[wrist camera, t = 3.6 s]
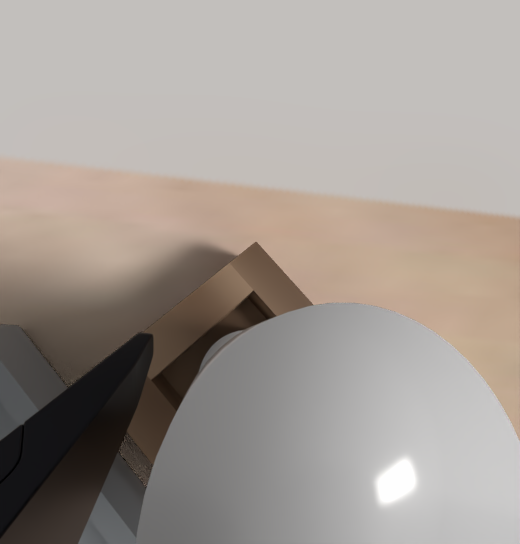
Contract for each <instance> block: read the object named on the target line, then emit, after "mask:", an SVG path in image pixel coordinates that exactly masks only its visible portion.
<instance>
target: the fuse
mask: <svg viewBox="0 0 520 544" xmlns="http://www.w3.org/2000/svg"><path fill="white" fill-rule="evenodd" d="M136 544H520V441H519V439H518V437H517V435H516V432H515V430H514V428H513V426H512V423H511V422H510V420H509V418H508V416H507V414H506V413H505V411H504V409H503V407H502V405H501V404H500V402H499V400H498V399H497V397H496V396H495V394H494V393H493V392H492V390H491V389H490V387H489V386H488V384H487V383H486V381H485V380H484V379H483V378H482V376H481V375H480V374H479V373H478V372H477V371H476V369H475V368H474V367H473V366H472V365H471V363H470V362H469V361H468V360H467V359H466V358H465V357H464V356H463V355H462V354H460V353H459V352H458V351H457V350H456V349H455V348H454V347H453V346H452V345H451V344H450V343H448V342H447V341H446V340H444V339H443V338H442V337H440V336H439V335H438V334H436V333H435V332H434V331H432V330H430V329H429V328H427V327H425V326H424V325H422V324H420V323H419V322H417V321H415V320H413V319H411V318H408V317H406V316H404V315H401V314H399V313H397V312H394V311H391V310H387V309H384V308H380V307H377V306H372V305H365V304H358V303H327V304H320V305H312V306H308V307H304V308H301V309H297V310H294V311H290V312H287V313H284V314H282V315H279V316H276V317H274V318H271V319H268V320H265V321H263V322H260V323H258V324H256V325H254V326H251V327H249V328H247V329H245V330H242V331H236V332H233V333H230V334H228V335H225V336H224V337H222V338H220V339H219V340H218V341H216V342H215V343H214V344H213V345H212V346H211V347H210V349H209V350H208V351H207V353H206V355H205V357H204V359H203V361H202V363H201V366H200V369H199V373H198V374H197V375H196V377H195V379H194V380H193V382H192V384H191V386H190V387H189V389H188V391H187V392H186V394H185V396H184V398H183V400H182V402H181V404H180V406H179V408H178V410H177V412H176V414H175V416H174V418H173V420H172V422H171V424H170V426H169V429H168V431H167V433H166V436H165V438H164V440H163V442H162V445H161V447H160V449H159V452H158V454H157V456H156V459H155V462H154V465H153V468H152V471H151V475H150V478H149V481H148V484H147V488H146V491H145V494H144V499H143V504H142V509H141V515H140V520H139V525H138V530H137V538H136Z"/></svg>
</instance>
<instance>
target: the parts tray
mask: <svg viewBox="0 0 520 544" xmlns="http://www.w3.org/2000/svg"><path fill="white" fill-rule="evenodd" d="M66 389H67V386H66V385H65V384H64V383H63V381H62V380H61V379H60V377H59V376H58V375H57V374H56V372H55V371H54V370H53V368H52V367H51V366H50V365H49V363H48V362H47V361H46V360H45V358H44V357H43V356H42V354H41V353H40V352H39V351H38V349H37V348H36V347H35V345H34V344H33V343H32V342H31V340H30V339H29V338H28V337H27V335H26V334H25V333H24V331H23V330H22V329H21V328H20V326H19V325H6V324H0V440H1V439H3V438H4V437H5V436H7V435H8V434H9V433H10V432H12V431H13V430H14V429H16V428H17V427H18V426H19V425H21V424H23V425H24V422H25V421H26V420H27V419H29V418H30V417H31V416H32V415H34V414H35V413H36V412H38V411H39V410H40V409H41V408H43V407H44V406H45V405H47V404H48V403H49V402H50V401H52V400H53V399H54V398H56V397H57V396H58V395H59V394H61V393H62V392H63V391H64V390H66ZM145 491H146V487H145V486H144V485H143V483H142V482H141V481H140V480H139V478H138V477H137V476H136V475H135V473H134V472H133V471H132V469H131V468H130V467H129V466H128V464H127V463H126V462H125V460H124V459H123V458H122V457H121V455H120V454H119V453H117V455H116V457H115V460H114V462H113V464H112V467H111V469H110V471H109V473H108V476H107V478H106V480H105V483H104V485H103V487H102V490H101V492H100V494H99V497H98V499H97V501H96V503H95V506H94V508H93V510H92V513H91V515H90V517H89V520H88V522H87V524H86V526H85V529H84V531H83V533H82V536H81V538H80V540H79V543H78V544H136V538H137V530H138V525H139V520H140V515H141V509H142V504H143V499H144V494H145Z"/></svg>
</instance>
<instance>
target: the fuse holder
mask: <svg viewBox="0 0 520 544" xmlns="http://www.w3.org/2000/svg"><path fill="white" fill-rule="evenodd" d="M312 305H313V304H312V303H311V302H310V301H309V299H308V298H307V297H306V296H305V295H304V294H303V293H302V292H301V291H300V289H299V288H298V287H297V286H296V285H295V284H294V283H293V282H292V281H291V280H290V278H289V277H288V276H287V275H286V274H285V273H284V272H283V271H282V270H281V268H280V267H279V266H278V265H277V264H276V263H275V262H274V261H273V260H272V259H271V257H270V256H269V255H268V254H267V253H266V252H265V251H264V250H263V249H262V248H261V246H260V245H259V244H258V243H257V242H255V243H254V244H252V245H251V246H250V247H249V248H247V249H246V250H245V251H244V252H242V253H241V254H240V255H239V256H237V257H236V258H235V259H234V260H232V261H231V262H230V263H229V264H227V265H226V266H225V267H224V268H222V269H221V270H220V271H219V272H217V273H216V274H215V275H214V276H212V277H211V278H210V279H209V280H207V281H206V282H205V283H204V284H202V285H201V286H200V287H199V288H197V289H196V290H195V291H194V292H192V293H191V294H190V295H189V296H187V297H186V298H185V299H184V300H182V301H181V302H180V303H179V304H177V305H176V306H175V307H174V308H172V309H171V310H170V311H169V312H167V313H166V314H165V315H164V316H162V317H161V318H160V319H159V320H157V321H156V322H155V323H154V324H152V325H151V326H150V327H149V328H147V329H146V330H145V331H144V333H151V334H153V337H154V351H153V358H152V361H151V364H150V368H149V371H148V374H147V377H146V381H145V384H144V387H143V390H142V394H141V397H140V400H139V403H138V406H137V408H136V411H135V413H134V416H133V418H132V420H131V423H130V425H129V427H128V430H127V433H128V434H129V435H130V437H131V438H132V439H133V440H134V442H135V443H136V444H137V446H138V447H139V448H140V449H141V451H142V452H143V453H144V454H145V456H146V457H147V458H148V459H149V461H150V462H151V463H152V464H153V465H154V462H155V459H156V456H157V454H158V452H159V449H160V447H161V445H162V442H163V440H164V438H165V436H166V433H167V431H168V429H169V426H170V424H171V422H172V420H173V418H174V416H175V414H176V412H177V410H178V408H179V406H180V404H181V402H182V400H183V398H184V396H185V394H186V392H187V391H188V389H189V387H190V386H191V384H192V382H193V380H194V379H195V377H196V375H197V374H198V373H199V369H200V366H201V363H202V361H203V359H204V357H205V355H206V353H207V351H208V350H209V349H210V347H211V346H212V345H213V344H214V343H215V342H216V341H218V340H219V339H220V338H222V337H224V336H225V335H228V334H230V333H233V332H236V331H242V330H245V329H247V328H249V327H251V326H254V325H256V324H258V323H260V322H263V321H265V320H268V319H271V318H274V317H276V316H279V315H282V314H284V313H287V312H290V311H294V310H297V309H301V308H304V307H308V306H312Z"/></svg>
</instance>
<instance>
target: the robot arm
mask: <svg viewBox="0 0 520 544" xmlns="http://www.w3.org/2000/svg"><path fill="white" fill-rule="evenodd" d="M153 351H154V337H153V334H151V333H144V332H140V333H138V334H136V335H135V336H134V337H132V338H131V339H130V340H129V341H127V342H126V343H125V344H124V345H122V346H121V347H120V348H118V349H117V350H116V351H115V352H113V353H112V354H111V355H109V356H108V357H107V358H106V359H104V360H103V361H102V362H100V363H99V364H98V365H97V366H95V367H94V368H93V369H91V370H90V371H89V372H88V373H86V374H85V375H84V376H82V377H81V378H80V379H79V380H77V381H76V382H75V383H73V384H72V385H71V386H70V387H68V388H67V389H66V390H64V391H63V392H62V393H61V394H59V395H58V396H57V397H56V398H54V399H53V400H52V401H50V402H49V403H48V404H47V405H45V406H44V407H43V408H41V409H40V410H39V411H38V412H36V413H35V414H34V415H32V416H31V417H30V418H29V419H27V420H26V421H25V422H24V425H23V424H21V425H19V426H18V427H17V428H16V429H14V430H13V431H12V432H10V433H9V434H8V435H7V436H5V437H4V438H3V439H1V440H0V544H78V543H79V540H80V538H81V536H82V533H83V531H84V529H85V526H86V524H87V522H88V520H89V517H90V515H91V513H92V510H93V508H94V506H95V503H96V501H97V499H98V497H99V494H100V492H101V490H102V487H103V485H104V483H105V480H106V478H107V476H108V473H109V471H110V469H111V467H112V464H113V462H114V460H115V457H116V455H117V453H118V450H119V448H120V446H121V443H122V441H123V439H124V437H125V434H126V432H127V430H128V427H129V425H130V423H131V420H132V418H133V416H134V413H135V411H136V408H137V406H138V403H139V400H140V397H141V394H142V390H143V387H144V384H145V381H146V377H147V374H148V371H149V368H150V364H151V361H152V358H153Z"/></svg>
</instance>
